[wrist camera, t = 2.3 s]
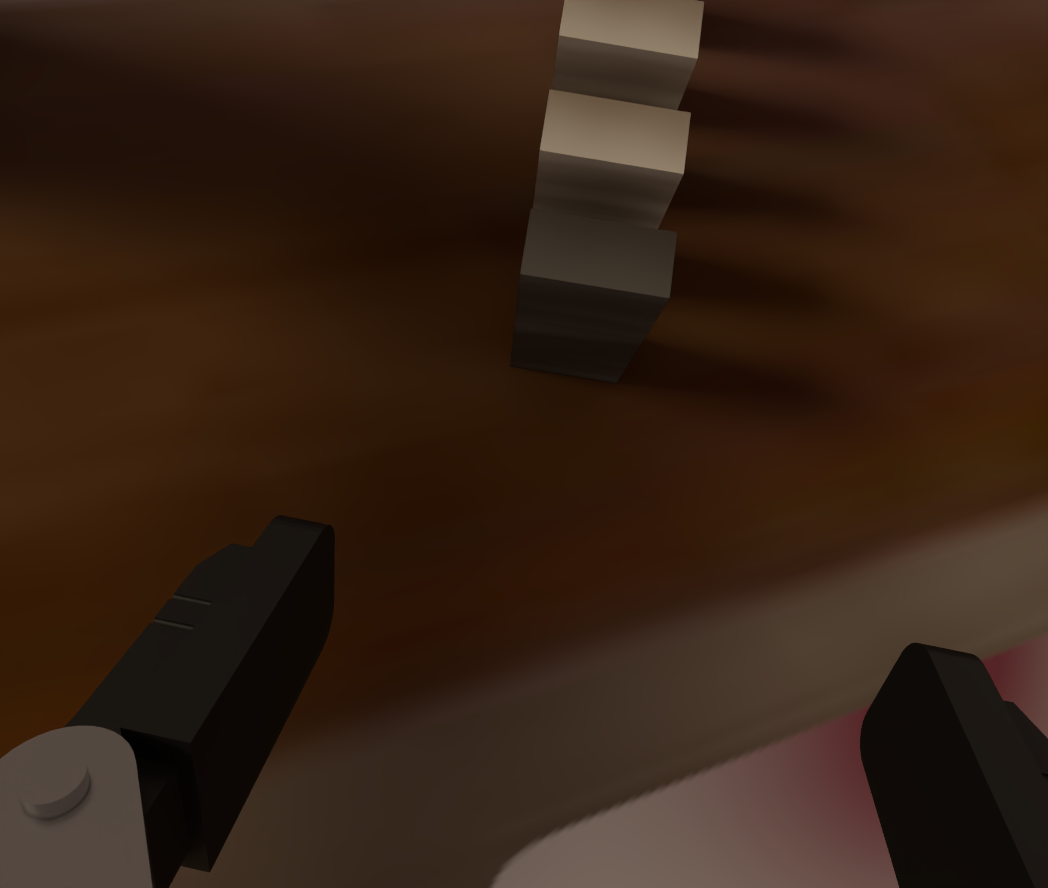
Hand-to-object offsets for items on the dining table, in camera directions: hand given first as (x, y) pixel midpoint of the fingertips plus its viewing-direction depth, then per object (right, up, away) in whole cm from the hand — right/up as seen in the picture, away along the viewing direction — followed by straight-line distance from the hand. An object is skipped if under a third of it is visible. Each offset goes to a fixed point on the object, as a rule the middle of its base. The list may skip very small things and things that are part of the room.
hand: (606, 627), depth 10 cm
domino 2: (+2, +11, +25) cm, 27 cm away
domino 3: (+1, +7, +24) cm, 25 cm away
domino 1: (+2, +16, +26) cm, 30 cm away
